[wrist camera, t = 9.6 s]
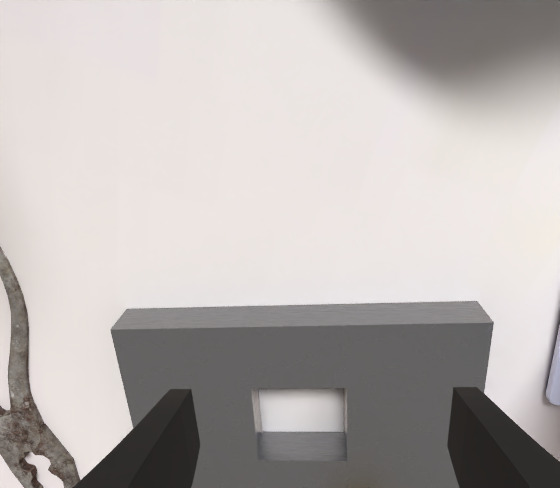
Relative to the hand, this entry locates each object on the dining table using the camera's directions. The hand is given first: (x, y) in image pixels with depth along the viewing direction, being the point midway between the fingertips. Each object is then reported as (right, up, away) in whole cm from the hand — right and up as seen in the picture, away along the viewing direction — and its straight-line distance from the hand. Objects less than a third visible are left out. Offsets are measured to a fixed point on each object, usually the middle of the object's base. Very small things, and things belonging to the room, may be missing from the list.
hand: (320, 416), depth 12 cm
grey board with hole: (0, -4, +12) cm, 13 cm away
